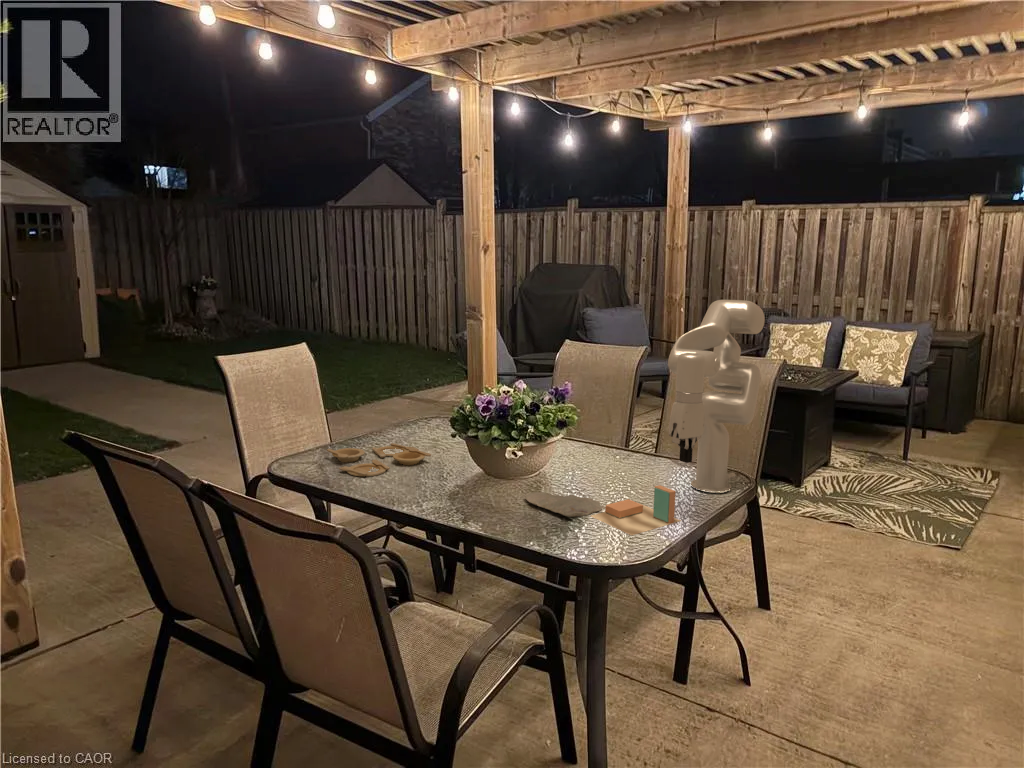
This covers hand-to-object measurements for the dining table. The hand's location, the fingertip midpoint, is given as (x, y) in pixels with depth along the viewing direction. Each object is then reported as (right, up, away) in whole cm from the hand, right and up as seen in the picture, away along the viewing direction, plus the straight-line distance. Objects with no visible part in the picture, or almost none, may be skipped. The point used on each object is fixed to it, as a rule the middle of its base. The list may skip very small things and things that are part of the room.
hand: (685, 461), depth 202 cm
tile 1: (-13, -13, +6) cm, 20 cm away
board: (-14, -17, 0) cm, 22 cm away
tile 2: (-6, -16, -1) cm, 17 cm away
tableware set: (-97, -7, +56) cm, 112 cm away
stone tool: (-34, -15, +11) cm, 39 cm away
